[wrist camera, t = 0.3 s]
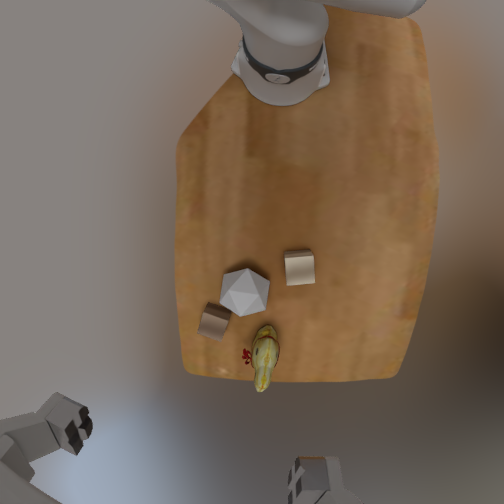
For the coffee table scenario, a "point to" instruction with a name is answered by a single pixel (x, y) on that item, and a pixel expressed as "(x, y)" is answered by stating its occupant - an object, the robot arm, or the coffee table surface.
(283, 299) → the coffee table surface
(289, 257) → the beech block
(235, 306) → the die
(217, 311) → the walnut block
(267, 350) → the chocolate bunny
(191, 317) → the coffee table surface
